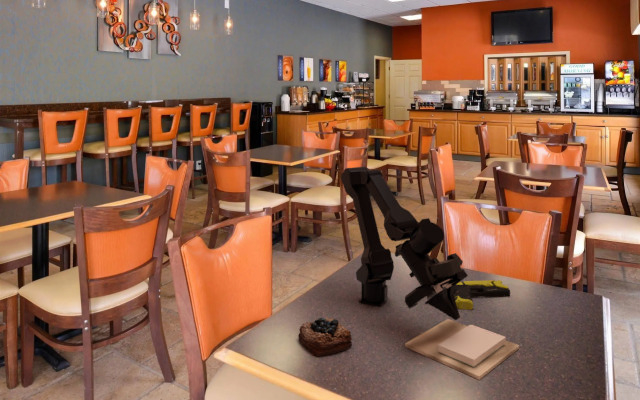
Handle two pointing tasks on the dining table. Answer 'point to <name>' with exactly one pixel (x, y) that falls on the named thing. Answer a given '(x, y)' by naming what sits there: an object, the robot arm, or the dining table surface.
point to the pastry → (324, 337)
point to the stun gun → (478, 291)
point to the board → (429, 348)
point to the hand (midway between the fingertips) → (457, 318)
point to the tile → (471, 345)
